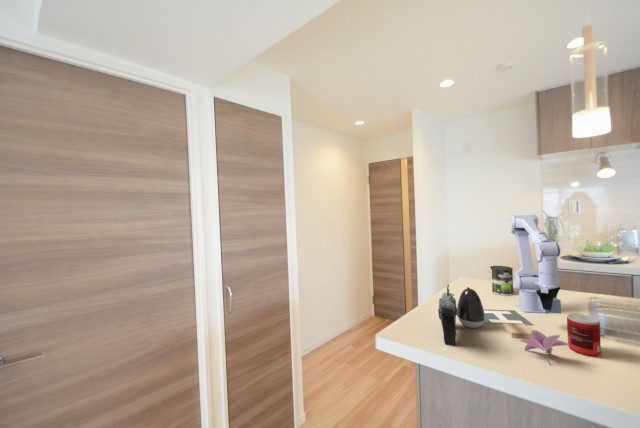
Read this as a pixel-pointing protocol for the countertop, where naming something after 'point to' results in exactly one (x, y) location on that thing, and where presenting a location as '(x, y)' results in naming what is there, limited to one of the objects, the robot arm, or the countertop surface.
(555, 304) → the blue cube
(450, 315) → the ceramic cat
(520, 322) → the letter card
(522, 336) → the oak slab
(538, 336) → the lily
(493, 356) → the countertop surface
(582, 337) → the canned food
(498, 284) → the coffee can
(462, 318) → the black egg shaped container
